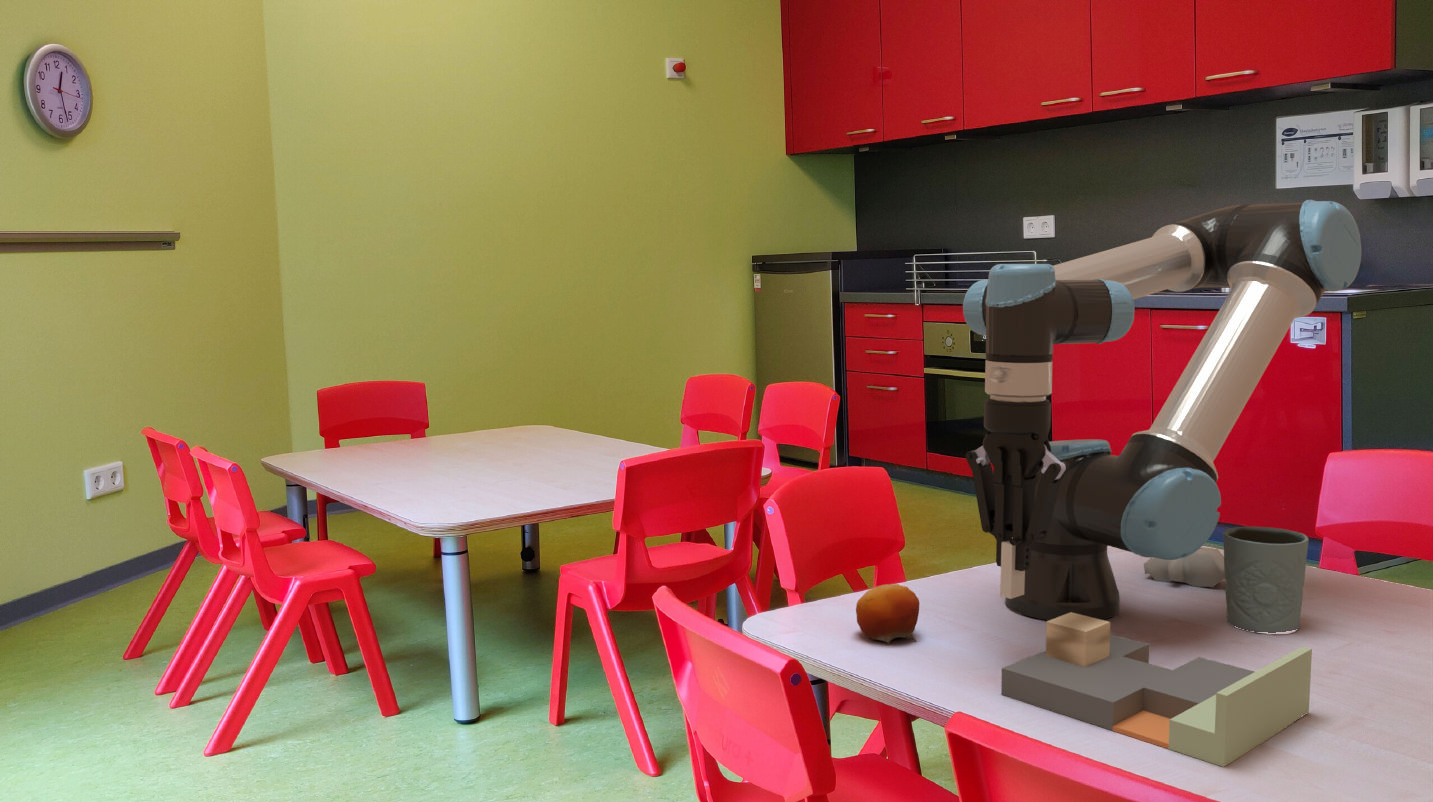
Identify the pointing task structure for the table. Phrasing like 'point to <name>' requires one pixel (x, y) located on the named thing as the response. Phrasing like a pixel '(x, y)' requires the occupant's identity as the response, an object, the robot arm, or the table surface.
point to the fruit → (888, 612)
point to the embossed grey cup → (1264, 577)
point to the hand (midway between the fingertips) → (1012, 595)
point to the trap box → (1170, 697)
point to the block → (1077, 639)
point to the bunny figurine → (1189, 568)
